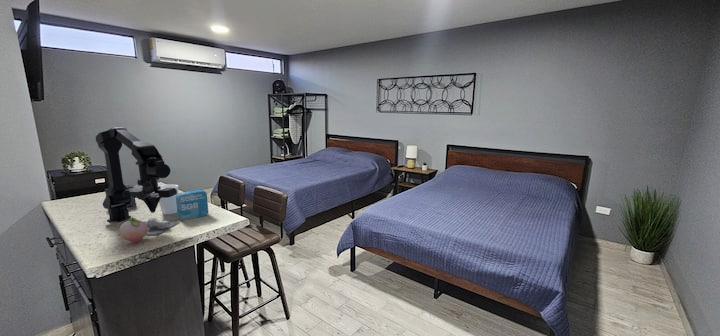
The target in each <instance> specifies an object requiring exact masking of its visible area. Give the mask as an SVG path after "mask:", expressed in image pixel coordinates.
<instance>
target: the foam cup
mask: <svg viewBox="0 0 720 336" xmlns="http://www.w3.org/2000/svg"><path fill="white" fill-rule="evenodd" d="M159 186H160V188H161V189H159V190H162V189H165V188H175V189H176V190H177V194H178V193H179V190H180V189H179V185H178V184H173V183H172V184H163V185H159ZM177 194H176V195H177ZM176 195H174V196H171V197H168V198H161V199H160V201H159V203H158V204H159V206H160V210H161V213H162V215H166V216H167V215H172V214H177V204H176Z"/></svg>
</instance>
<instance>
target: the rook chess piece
mask: <svg viewBox="0 0 720 336" xmlns="http://www.w3.org/2000/svg"><path fill="white" fill-rule="evenodd" d="M146 222H147V226H148V228H156V227H161V228H163V227H164V228H165V229H166V228H168V227H170V226H169V225H170V222H171V221H168V220H166V221H165V220H159V219H158V218H156V217H150V218H149V219H147V221H146Z"/></svg>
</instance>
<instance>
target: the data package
mask: <svg viewBox="0 0 720 336" xmlns="http://www.w3.org/2000/svg"><path fill="white" fill-rule="evenodd" d="M176 204H177V212H176V214H177V217H178V218H179V219H180V220H182V221H186V220H191V219H196V218H200V217H206V216H207V215H208V214H209V205H208V204H209V201H208V193H207V192H206V191H205V190H203V189H195V190H189V191H184V192H183V191H182V192H178V194H177V195H176Z"/></svg>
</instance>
